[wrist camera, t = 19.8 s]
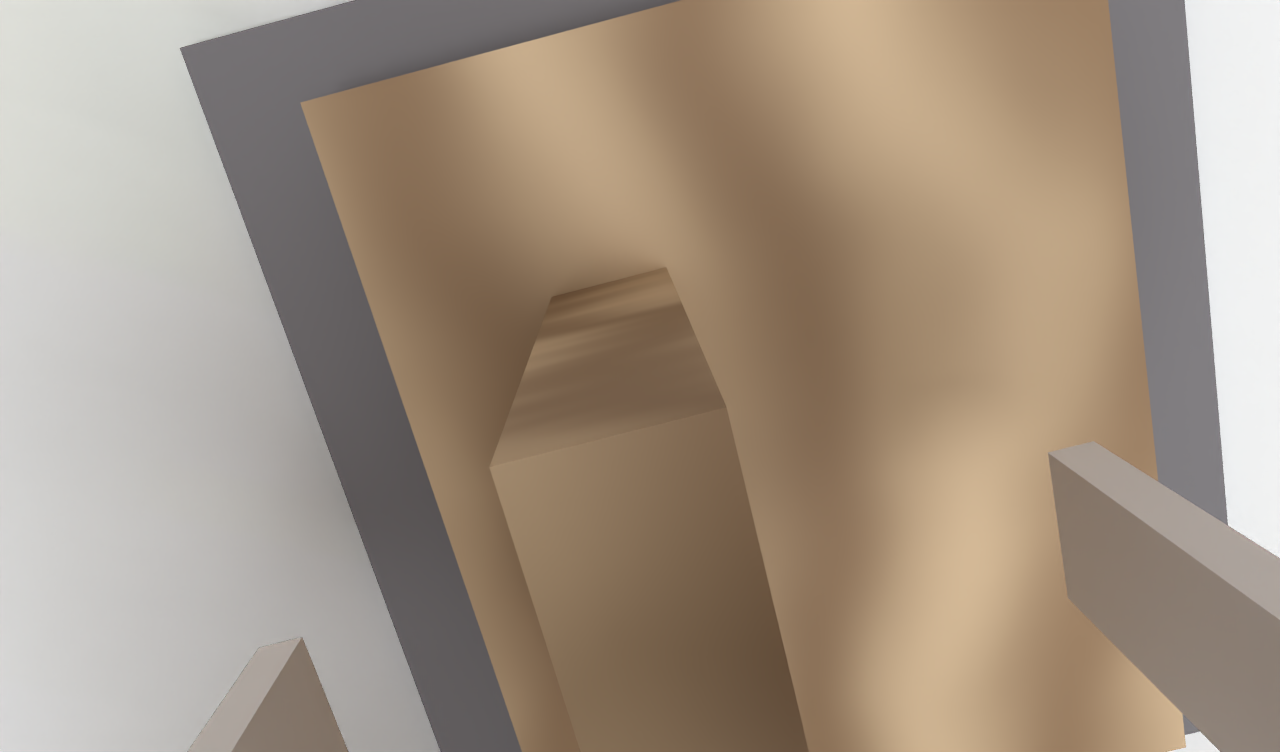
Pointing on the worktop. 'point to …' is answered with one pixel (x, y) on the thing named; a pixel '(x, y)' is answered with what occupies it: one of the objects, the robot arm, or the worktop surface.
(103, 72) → the worktop surface
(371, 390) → the mat
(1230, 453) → the worktop surface
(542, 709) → the lid
